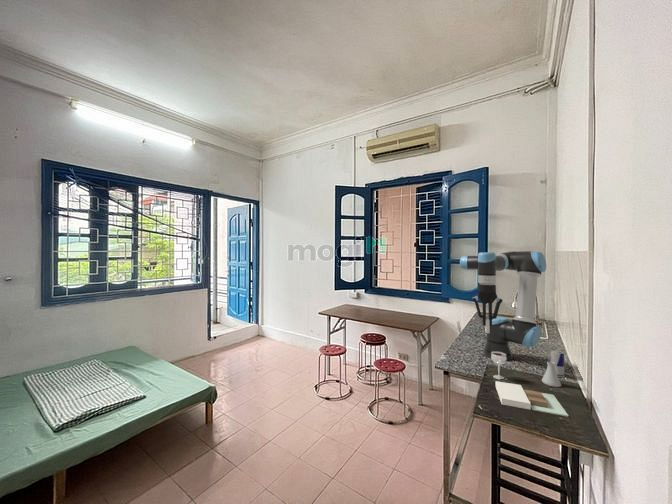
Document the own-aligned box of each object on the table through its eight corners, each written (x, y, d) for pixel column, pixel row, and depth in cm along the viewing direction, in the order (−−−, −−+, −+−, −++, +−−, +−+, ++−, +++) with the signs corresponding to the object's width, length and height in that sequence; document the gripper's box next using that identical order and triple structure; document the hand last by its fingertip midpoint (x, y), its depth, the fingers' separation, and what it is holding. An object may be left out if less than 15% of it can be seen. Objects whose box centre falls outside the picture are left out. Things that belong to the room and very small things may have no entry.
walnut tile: (524, 393, 118) (524, 389, 118) (540, 396, 115) (540, 392, 115) (529, 404, 109) (529, 399, 109) (547, 407, 107) (547, 402, 107)
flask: (538, 380, 131) (537, 359, 131) (553, 380, 131) (552, 359, 131) (549, 387, 124) (549, 366, 124) (565, 387, 124) (565, 366, 124)
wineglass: (488, 375, 137) (487, 351, 137) (498, 373, 138) (498, 350, 138) (499, 381, 130) (498, 356, 130) (510, 379, 132) (510, 355, 132)
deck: (495, 386, 125) (495, 381, 125) (520, 390, 121) (520, 385, 121) (501, 404, 111) (501, 398, 111) (530, 409, 107) (530, 403, 107)
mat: (522, 390, 121) (522, 389, 121) (553, 395, 117) (553, 394, 117) (532, 410, 106) (532, 408, 106) (568, 416, 102) (568, 415, 102)
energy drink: (567, 377, 133) (566, 354, 133) (555, 377, 134) (554, 353, 134) (560, 373, 138) (559, 350, 138) (548, 372, 139) (548, 349, 139)
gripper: (472, 284, 128) (473, 333, 128) (504, 285, 123) (504, 336, 123) (471, 282, 135) (471, 328, 135) (501, 283, 130) (501, 331, 130)
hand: (487, 332), depth 129 cm, fingers closed
